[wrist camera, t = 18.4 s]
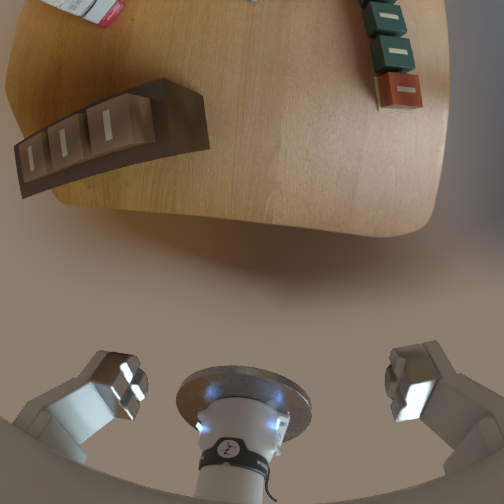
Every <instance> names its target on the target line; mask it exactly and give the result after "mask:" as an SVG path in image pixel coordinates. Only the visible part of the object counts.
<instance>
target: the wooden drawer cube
mask: <svg viewBox="0 0 504 504" xmlns="http://www.w3.org/2000/svg"><path fill="white" fill-rule="evenodd" d="M377 80H378V86H379V93H380V101H381V108H391V109H406V110H410V109H416V108H422V107H423V105H422V97H421V90H420V84H419V78H418V75H413V74H405V73H396V72H387V73H385V74H383V75H382V76H380V77H378V78H377Z"/></svg>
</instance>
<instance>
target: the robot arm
mask: <svg viewBox="0 0 504 504" xmlns="http://www.w3.org/2000/svg"><path fill="white" fill-rule="evenodd" d="M389 359H390V362H391V364H390V366H388V368H387V369H386V373H385V388H386V393H387V396H388V397H390V398H391V399H392V400H393V401H392V404H391V410H392V413H393V417H394V420H395V423H397V422H402V421H407V420H411V419H416V418H420V420H421V421H423V422H424V423H425V424H426V425H427V426H428V427H429V428H430V429H431V430H432V431H434V432H435V433H436V434H437V435H438V436H439V437H440V438H441V439H442V440H444V441H445V442H446V443H447V444H448V445H449V446H450V447H451V448H452V449H454V452H453V453H452V454H451V455H450V456H449V457H448V459H447V460H446V461H445V462H444V464H443V466H444V470H445V474H446V475H445V476H442V477H439V478H437V479H434V480H431V481H428V482H425V483H422V484H419V485H415V486H412V487H408V488H405V489H401V490H397V491H393V492H389V493H385V494H380V495H376V496H370V497H365V498H360V499H353V500H346V501H339V502H330V503H320V504H504V397H502V396H500V395H499V394H497V393H495V392H493V391H492V390H490V389H488V388H486V387H484V386H483V385H481V384H479V383H477V382H476V381H473V380H472V379H470V378H468V377H467V376H465V375H463V374H461V373H459V374H457V373H456V372H455V370H454V368H453V367H452V365H451V363H450V361H449V360H448V358H447V356H446V355H445V353H444V351H443V349H442V348H441V346H440V344H439V343H438V342H437V341H436V340H434V341H429V342H424V343H421V344H415V345H410V346H404V347H399V348H393V349H392V351H391V353H390V357H389ZM139 367H140V361H139V359H138V358H137V356H134V355H129V354H123V353H116V352H108V351H103V350H100V351H98V352H96V354H95V355H94V356H93V358H92V359H91V360H90V362H89V363H88V364H87V366H86V367H85V368H84V369H83V371H82V372H81V373H80V375H79V376H78V377H77V378H72V379H71V380H69V381H67V382H65V383H63V384H61V385H59V386H57V387H55V388H53V389H51V390H50V391H48V392H46V393H44V394H42V395H40V396H38V397H36V398H34V399H33V400H30V401H28V402H27V404H26V405H25V406H24V408H23V409H22V410H21V412H20V413H19V415H18V416H17V417H16V419H15V420H14V421H13V423H12V424H11V423H10V422H8V421H7V420H5V419H4V418H2V417H1V416H0V504H262V495H263V482H264V480H266V482H265V490H266V492H267V494H268V496H269V497H270V498H271V499H272V500H274V501H275V502H277V501H276V500H275V499H274V498H273V497H272V496H271V495H270V493H269V492H268V480H269V473H270V469H269V466H268V463H269V462H270V461H271V459H272V457H273V455H274V456H280V455H281V443H282V441H283V438H284V435H285V432H286V429H287V426H288V423H289V420H290V416H289V415H287V414H285V413H282V412H278V411H276V410H274V409H273V408H272V407H270V406H269V405H267V404H265V403H262V402H260V401H257V400H253V399H249V398H242V397H228V398H222V399H218V400H216V401H214V402H212V403H211V404H210V405H209V406H208V407H207V408H206V409H204V410H201V411H199V412H198V414H197V418H198V419H199V420H200V421H201V423H202V424H201V425H200V424H199V423H197V426H196V427H197V428H198V429H199V430H200V434H199V439H198V446H199V447H200V449H201V450H202V451H203V452H202V455H201V458H200V462H199V470H200V474H199V478H198V482H197V485H196V489H195V493H194V497H189V496H183V495H179V494H174V493H170V492H165V491H161V490H157V489H153V488H150V487H146V486H143V485H139V484H136V483H133V482H130V481H127V480H124V479H121V478H118V477H115V476H112V475H109V474H107V473H104V472H102V471H99V470H97V469H94V468H92V467H90V466H87V465H85V464H84V462H85V460H86V458H87V453H86V451H85V450H83V448H82V447H81V446H80V444H81V443H82V442H84V441H85V440H86V439H88V438H89V437H90V436H91V435H93V434H94V433H95V432H97V430H99V429H101V428H102V427H103V426H104V425H106V424H107V423H108V422H109V421H111V420H112V419H113V418H114V417H118V418H123V419H128V420H132V421H134V419H135V417H136V415H137V413H138V411H139V409H140V404H139V401H141V400H142V399H144V398H145V396H146V394H147V392H148V385H149V383H148V378H147V376H146V374H145V372H144V371H142V370H141V369H140V368H139Z"/></svg>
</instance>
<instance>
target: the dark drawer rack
mask: <svg viewBox="0 0 504 504" xmlns="http://www.w3.org/2000/svg"><path fill="white" fill-rule="evenodd" d="M207 149H210V146H209V139H208V131H207V124H206V117H205V109H204V101H203V96H202V95H199V94H197V93H195V92H193V91H191V90H189V89H187V88H185V87H183V86H180V85H178V84H176V83H174V82H172V81H169V80H167V79H165V78H163V79H160V80H156V81H153V82H150V83H147V84H144V85H141V86H138V87H135V88H132V89H129V90H126V91H124V92H121V93H118V94H116V95H113V96H110V97H108V98H105V99H103V100H101V101H98V102H96V103H93V104H91V105H89V106H87V107H84V108H82V109H80V110H78V111H76V112H74V113H72V114H70V115H68V116H66V117H64V118H62V119H60V120H58V121H56V122H54V123H52V124H50V125H48V126H46V127H45V128H43V129H41V130H39V131H38V132H36V133H34V134H32V135H31V136H29V137H27V138H26V139H24V140H23V141H21V142H19V143H18V144H16V145H15V146H14V152H15V159H16V166H17V173H18V179H19V184H20V190H21V195H22V198H23V199H24V198H27V197H29V196H32V195H35V194H38V193H40V192H43V191H46V190H49V189H52V188H55V187H58V186H61V185H64V184H67V183H70V182H73V181H76V180H79V179H83V178H86V177H89V176H93V175H96V174H100V173H103V172H107V171H110V170H114V169H118V168H122V167H126V166H130V165H134V164H138V163H142V162H146V161H151V160H155V159H160V158H165V157H169V156H174V155H179V154H185V153H190V152H196V151H201V150H207Z"/></svg>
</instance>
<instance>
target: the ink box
mask: <svg viewBox="0 0 504 504" xmlns="http://www.w3.org/2000/svg"><path fill="white" fill-rule="evenodd" d="M40 1H43V2H45V3H48V4H50V5H52V6H54V7H56V8H58V9H61V10H63V11H66V12H68V13H71V14H73V15H76V16H78V17H81V18H83V19H86V20H88V21H91V22H93V23H95V24H98V25H100V26H102V27H104V28H107V27H108V26H109V25H110V24H111V22H112V21H113V20H114V19H115V18H116V16H117V15H118V14H119V13H120V11H121V10H122V9H123V8H124V7H125V4H124V3H123V2H121V1H120V0H40Z"/></svg>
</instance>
